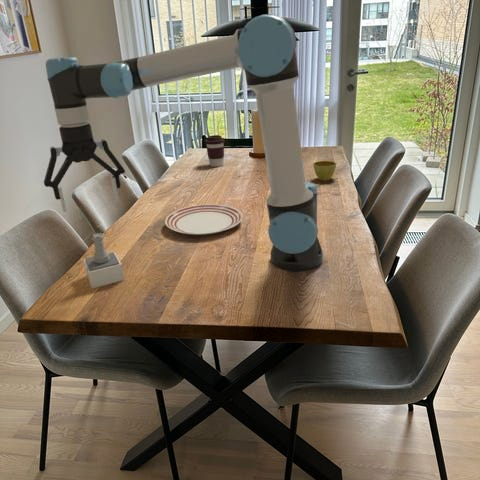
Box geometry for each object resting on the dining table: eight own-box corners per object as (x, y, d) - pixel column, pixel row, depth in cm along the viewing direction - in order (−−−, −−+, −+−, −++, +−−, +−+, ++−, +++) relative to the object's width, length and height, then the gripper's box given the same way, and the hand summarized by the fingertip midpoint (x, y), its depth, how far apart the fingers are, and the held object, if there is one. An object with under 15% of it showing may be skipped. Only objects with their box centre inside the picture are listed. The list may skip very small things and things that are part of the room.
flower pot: (333, 175, 211) (333, 159, 208) (338, 181, 202) (338, 165, 199) (311, 176, 211) (311, 161, 208) (315, 183, 202) (315, 167, 199)
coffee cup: (225, 167, 236) (223, 137, 230) (206, 168, 236) (203, 138, 230) (226, 162, 245) (224, 133, 239) (208, 163, 245) (205, 135, 239)
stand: (124, 280, 129) (121, 263, 127) (91, 288, 126) (88, 271, 124) (118, 267, 137) (114, 251, 135) (86, 275, 134) (83, 258, 132)
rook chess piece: (104, 255, 132) (99, 230, 129) (113, 259, 130) (108, 233, 126) (90, 261, 129) (85, 235, 126) (100, 265, 127) (94, 239, 123)
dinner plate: (258, 223, 163) (258, 214, 162) (198, 248, 147) (197, 238, 145) (209, 206, 182) (209, 199, 181) (151, 227, 166) (149, 219, 164)
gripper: (121, 116, 122) (134, 192, 130) (19, 129, 113) (40, 210, 121) (127, 119, 116) (140, 199, 124) (20, 133, 106) (42, 219, 115)
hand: (91, 205), depth 123 cm, fingers open, 13 cm apart
